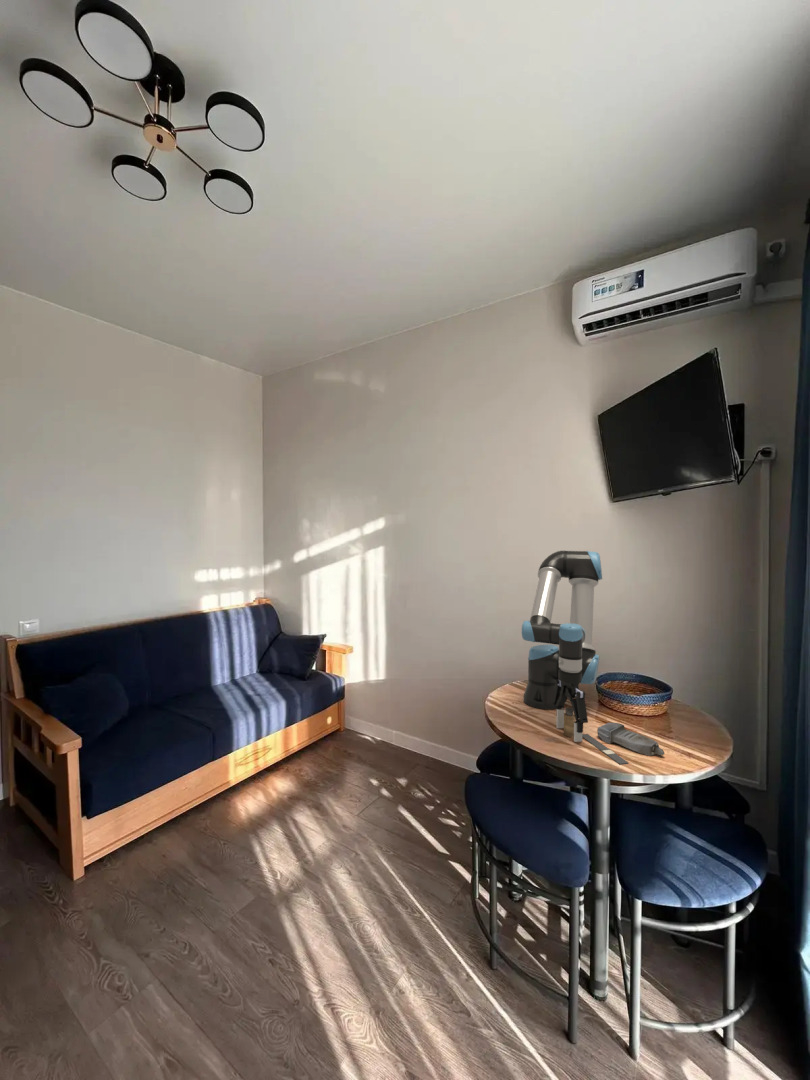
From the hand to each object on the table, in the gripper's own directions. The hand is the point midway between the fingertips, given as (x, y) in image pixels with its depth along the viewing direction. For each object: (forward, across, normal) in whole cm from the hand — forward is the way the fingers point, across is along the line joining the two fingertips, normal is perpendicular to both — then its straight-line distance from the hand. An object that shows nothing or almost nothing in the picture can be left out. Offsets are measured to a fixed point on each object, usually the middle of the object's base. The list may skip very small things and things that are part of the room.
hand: (568, 734), depth 154 cm
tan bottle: (0, 0, 0) cm, 0 cm away
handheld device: (+1, +11, +16) cm, 19 cm away
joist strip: (0, +11, +5) cm, 12 cm away
